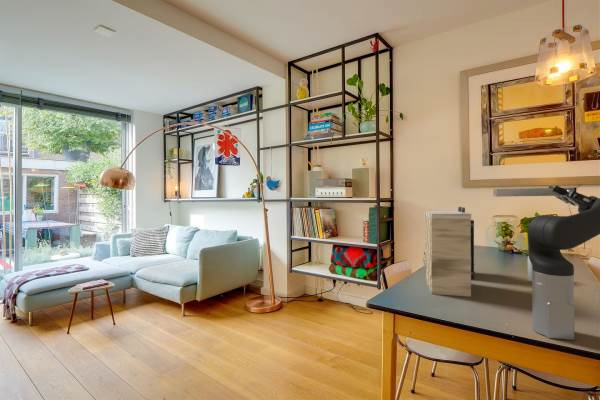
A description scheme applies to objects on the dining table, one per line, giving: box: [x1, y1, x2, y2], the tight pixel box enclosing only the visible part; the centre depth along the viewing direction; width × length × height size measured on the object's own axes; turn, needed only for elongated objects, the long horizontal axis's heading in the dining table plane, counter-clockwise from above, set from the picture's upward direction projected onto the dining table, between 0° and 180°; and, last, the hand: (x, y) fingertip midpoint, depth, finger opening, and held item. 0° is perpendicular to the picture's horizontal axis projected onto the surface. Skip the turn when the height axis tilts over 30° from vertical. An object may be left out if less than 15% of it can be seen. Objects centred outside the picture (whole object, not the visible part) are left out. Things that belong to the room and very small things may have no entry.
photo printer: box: [526, 255, 532, 283], centre depth 142 cm, size 10×4×12 cm, turn 123°
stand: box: [424, 206, 472, 297], centre depth 132 cm, size 22×14×34 cm, turn 165°
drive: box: [492, 186, 577, 198], centre depth 121 cm, size 4×26×3 cm, turn 75°
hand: (551, 188), depth 119 cm, fingers closed on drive, 4 cm apart
